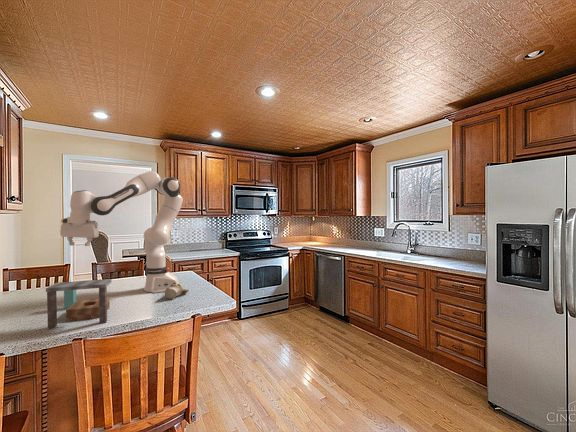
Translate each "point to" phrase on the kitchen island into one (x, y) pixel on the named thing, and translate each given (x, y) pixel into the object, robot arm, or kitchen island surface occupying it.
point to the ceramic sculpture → (174, 291)
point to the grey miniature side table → (79, 308)
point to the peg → (69, 298)
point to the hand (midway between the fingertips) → (79, 245)
